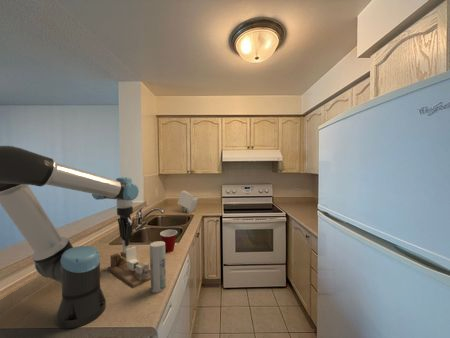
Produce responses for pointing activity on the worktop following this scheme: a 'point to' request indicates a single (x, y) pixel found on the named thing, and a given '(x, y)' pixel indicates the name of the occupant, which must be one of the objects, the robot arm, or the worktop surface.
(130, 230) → the robot arm
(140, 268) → the board
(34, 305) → the worktop surface
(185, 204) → the tissue box
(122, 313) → the worktop surface
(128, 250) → the white l-shaped block
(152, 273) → the spray can
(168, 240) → the plastic cup
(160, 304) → the worktop surface
